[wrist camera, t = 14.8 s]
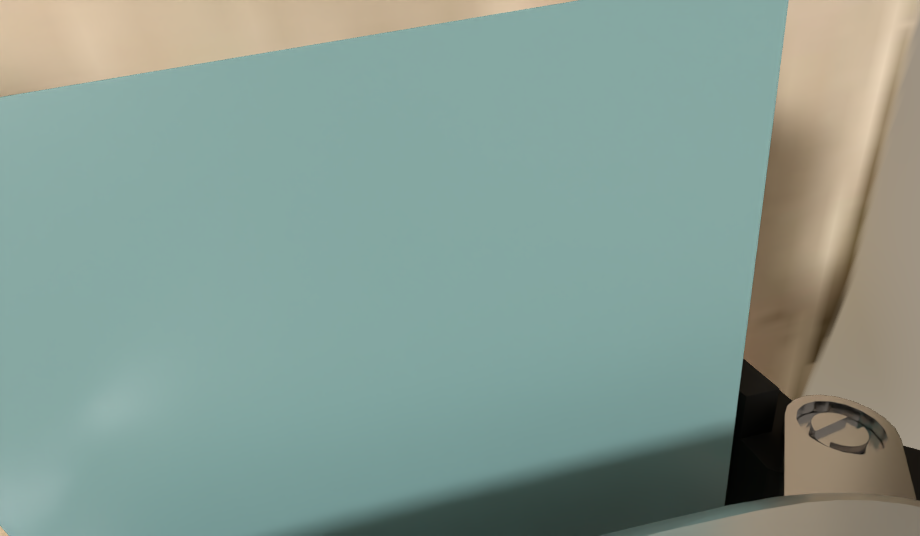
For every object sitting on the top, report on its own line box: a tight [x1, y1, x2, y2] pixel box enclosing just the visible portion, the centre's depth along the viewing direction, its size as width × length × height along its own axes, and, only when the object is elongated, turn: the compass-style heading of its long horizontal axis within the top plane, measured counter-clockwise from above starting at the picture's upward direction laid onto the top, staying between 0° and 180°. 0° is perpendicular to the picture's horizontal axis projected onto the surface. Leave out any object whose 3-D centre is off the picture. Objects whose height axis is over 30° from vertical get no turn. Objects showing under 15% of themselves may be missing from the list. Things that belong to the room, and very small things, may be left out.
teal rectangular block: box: [0, 0, 788, 536], centre depth 10 cm, size 13×8×8 cm, turn 9°
